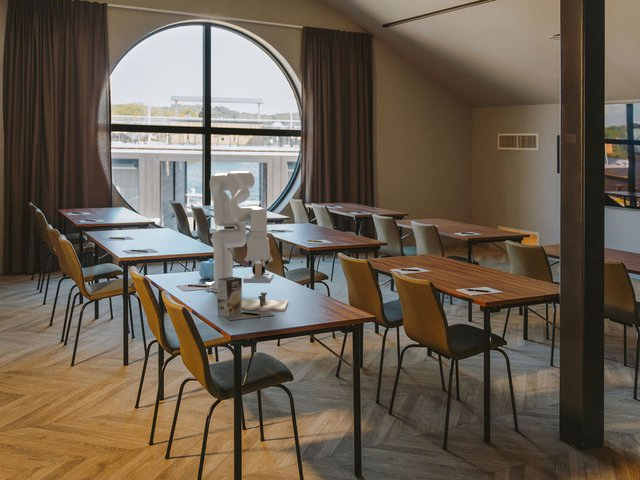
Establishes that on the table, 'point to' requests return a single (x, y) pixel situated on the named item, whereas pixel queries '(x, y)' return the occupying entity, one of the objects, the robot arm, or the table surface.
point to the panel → (259, 279)
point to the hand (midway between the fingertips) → (258, 274)
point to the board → (264, 304)
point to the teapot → (207, 269)
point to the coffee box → (229, 296)
